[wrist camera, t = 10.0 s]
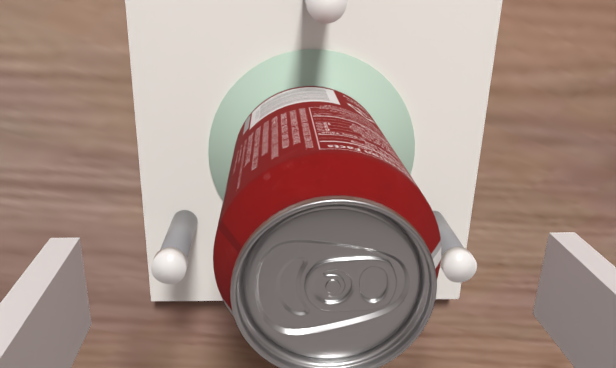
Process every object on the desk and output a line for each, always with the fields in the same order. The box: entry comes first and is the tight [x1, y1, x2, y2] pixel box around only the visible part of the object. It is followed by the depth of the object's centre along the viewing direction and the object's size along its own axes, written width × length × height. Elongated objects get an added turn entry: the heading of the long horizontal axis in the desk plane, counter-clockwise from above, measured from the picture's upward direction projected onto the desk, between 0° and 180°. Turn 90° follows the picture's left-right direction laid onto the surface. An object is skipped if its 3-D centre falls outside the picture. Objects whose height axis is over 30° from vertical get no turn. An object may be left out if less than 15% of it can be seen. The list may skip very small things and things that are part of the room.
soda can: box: [213, 85, 441, 368], centre depth 20 cm, size 7×7×12 cm
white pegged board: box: [125, 0, 502, 301], centre depth 25 cm, size 16×16×6 cm
